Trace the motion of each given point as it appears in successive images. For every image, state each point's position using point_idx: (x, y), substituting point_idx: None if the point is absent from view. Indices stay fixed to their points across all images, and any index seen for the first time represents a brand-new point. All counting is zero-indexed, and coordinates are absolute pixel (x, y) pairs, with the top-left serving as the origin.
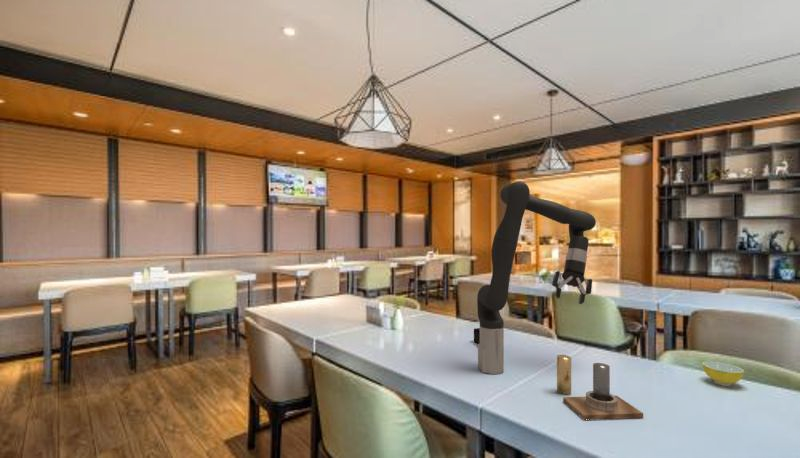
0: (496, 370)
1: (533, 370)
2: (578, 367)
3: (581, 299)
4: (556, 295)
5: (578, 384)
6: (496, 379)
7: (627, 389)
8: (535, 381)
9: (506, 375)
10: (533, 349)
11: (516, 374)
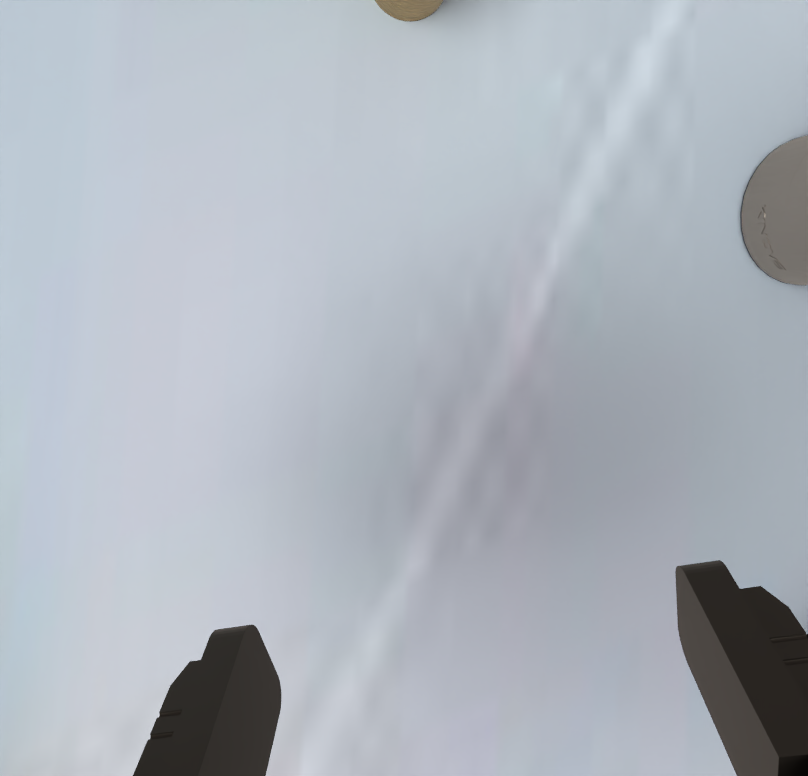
0: (796, 141)
1: (569, 305)
2: (299, 473)
3: (219, 687)
4: (771, 598)
5: (317, 151)
6: (778, 61)
7: (25, 171)
8: (563, 110)
9: (723, 153)
10: (559, 711)
11: (667, 193)
